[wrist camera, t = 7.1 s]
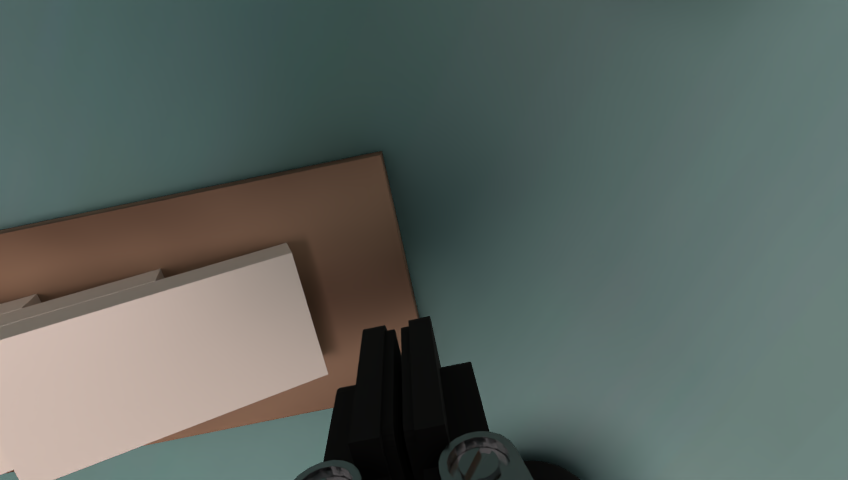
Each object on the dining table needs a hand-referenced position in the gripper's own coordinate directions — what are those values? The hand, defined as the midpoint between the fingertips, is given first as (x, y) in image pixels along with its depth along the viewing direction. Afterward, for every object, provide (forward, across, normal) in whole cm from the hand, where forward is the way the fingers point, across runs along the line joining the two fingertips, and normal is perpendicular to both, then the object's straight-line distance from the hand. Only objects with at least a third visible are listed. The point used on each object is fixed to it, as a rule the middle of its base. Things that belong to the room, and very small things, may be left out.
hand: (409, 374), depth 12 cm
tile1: (+7, +4, +1) cm, 8 cm away
